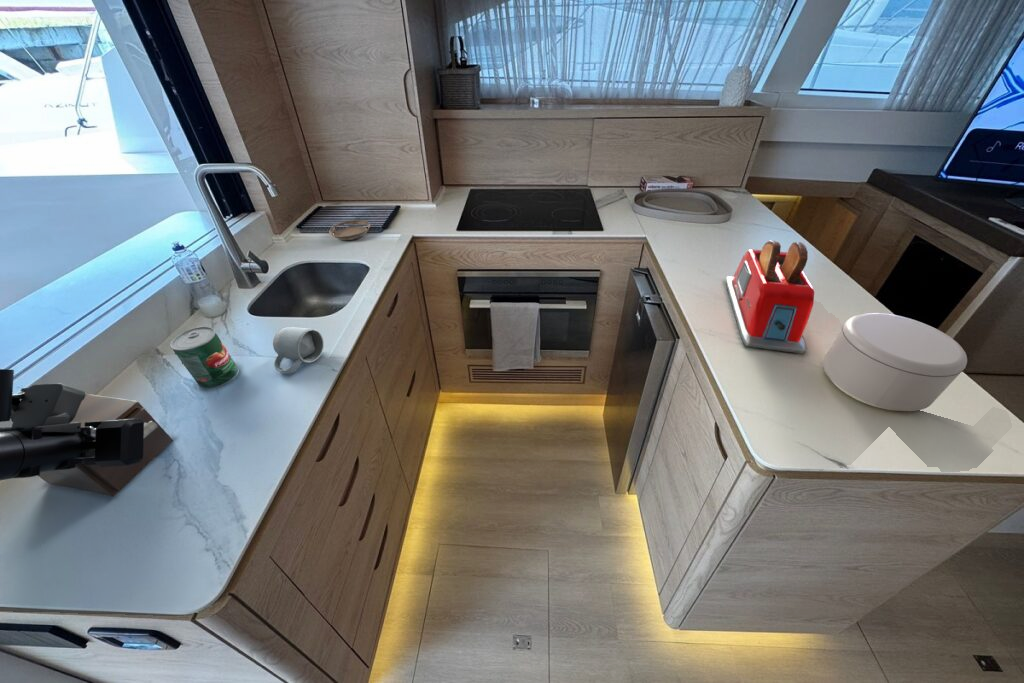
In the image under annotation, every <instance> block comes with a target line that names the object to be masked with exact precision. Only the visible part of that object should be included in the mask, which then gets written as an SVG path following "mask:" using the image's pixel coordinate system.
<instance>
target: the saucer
mask: <svg viewBox="0 0 1024 683" xmlns="http://www.w3.org/2000/svg"><path fill="white" fill-rule="evenodd" d="M344 224H365V225H367V226H368V229H367V228H366V227H363V226H349V227H345V228H342V229H339V230H338V231H336V232H335V233H334V235H333V232H334V230H335V227H337V226H339V225H344ZM370 228H371V223H370V222H369V221H366V220H359V219H358V220H356V219H355V220H348V221H343V222H340V223H337V224H335V225H333V226H331V227H330V229H329V230H328V233H329V234H330V235H331V236H332V237H333V238H335V239H338V240H341V241H353V240H356V239H360V238H362V237H363V236H365V235H366V234H367V233H368V232H369V230H370Z"/></svg>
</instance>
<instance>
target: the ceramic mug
mask: <svg viewBox="0 0 1024 683" xmlns="http://www.w3.org/2000/svg"><path fill="white" fill-rule="evenodd" d="M324 345H325V343H324V338H323V336H322V333H320V332H319V331H318V330H317V329H315V328H306V327H296V326H286V327H282V328H281V329H279V330H278V331H276V333H275V335H274V337H273V341H272V347H273V350H274V352H275V353H276V354H277V356H276V357H275V359H274V362H273V365H274V369H275V370H276V371H277V372H279V373H280V374H282V375H290V374H293V373H294V372H296V371H297V370H298V369H299V368H300V367H301V365H302V363H305V364H311V363H315V362H316V361H317V360H318V359H320V357H321V355H322V353H323V351H324V347H325V346H324ZM283 359H288V360H293V361H294V363H292V365H290V367H288V368H285V369H283V368H282V367H281V364H282V361H283Z"/></svg>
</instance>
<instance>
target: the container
mask: <svg viewBox="0 0 1024 683" xmlns="http://www.w3.org/2000/svg"><path fill="white" fill-rule="evenodd" d="M967 356H968V355H967V352H966V351H965V350H964V349H963V347H962V346H961V345H960V344H959V343H958V342H957V341H956V339H954V338H952V337H951V336H949V335H948V334H946V333H944V332H943V331H941V330H939V329H937V328H935V327H933V326H931V325H929V324H926V323H924V322H921V321H918V320H916V319H912V318H909V317H905V316H902V315H897V314H890V313H882V312H867V313H860V314H857V315H854V316H851V317H850V318H849V319H847V320H846V321H844V323H843V324H842V327H841V329H840V330H839V332H838V333H837V335H836V337H835V338H834V340H833V342H832V343H831V345H830V347H829V348H828V350H827V352H826V353H825V354H824V356H823V359H822V368H823V370H824V372H825V374H826V375H827V376H828V378H829V379H830V380H831V382H832V383H833V384H834V385H835V386H836V387H837V388H838V389H839V390H840V391H842V392H843V393H844V394H846V395H848V396H849V397H851V398H853V399H854V400H857V401H858V402H861V403H863V404H866V405H869V406H871V407H875V408H878V409H881V410H888V411H900V412H901V411H902V412H916V411H917V412H918V411H921V410H925V409H927V408H929V407H930V406H931V405H933V403H934V402H935V401H936V400H937V399H938V398H939V397H940V396H941V395H942V394H943V392H944V391H945V390H946V389H948V387H949V386H950V385H951V384H952V383H953V382H954V381H955V380H956V379H957V377H958V376H960V374H961V373H963V372H964V371H965V370H966V367H967V365H968V357H967Z"/></svg>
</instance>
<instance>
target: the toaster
mask: <svg viewBox="0 0 1024 683" xmlns="http://www.w3.org/2000/svg"><path fill="white" fill-rule="evenodd" d="M781 248H782V247H781V243H780V242H779V241H776V240H768V241H767V242H765V243H764V244H763V246H762V247H761V249H748V250H747V251H746V252H745V253H744V254H743V256H742V258H741V259H740V261H739V263H738V266H737V267H736V270H735V272H734V274H733V276H731V275H730V276H727V277H726V279H725V281H726V288H727V291H728V292H727V293H728V296H729V298H730V303H731V305H732V310H733V313H734V315H735V316H734V317H735V320H736V324H737V328H738V331H739V334H740V337H741V339H742V342H743V344H744V345H745V346H746V347H750V348H755V349H756V348H757V349H763V350H764V349H765V350H770V351H771V350H772V351H779V352H785V353H794V354H804V353H805V352H806V350H807V347H806V343H805V340H804V339H803V337H802V336H803V334H804V332H805V329H806V326H807V324H808V321H809V319H810V316H811V313H812V310H813V308H814V304H815V303H814V302H815V290H814V288H813V285H812V284H811V283H810V281H809V280H808V277H807V276H806V275H805V274H806V273H804V270H805V267H806V265H807V263H808V258H809V256H808V254H809V253H808V252H809V251H808V248H807V245H806V244H805V243H804V242H802V241H796V242H792V243H791V244H790V246H789V248H788V249H787V251H781V250H782V249H781Z"/></svg>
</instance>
